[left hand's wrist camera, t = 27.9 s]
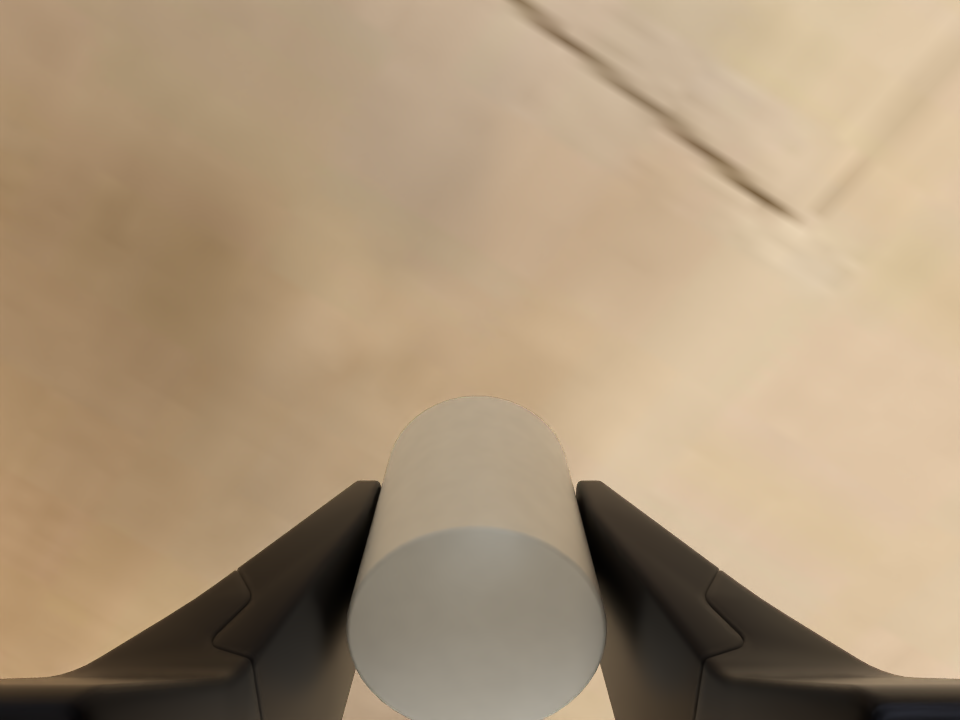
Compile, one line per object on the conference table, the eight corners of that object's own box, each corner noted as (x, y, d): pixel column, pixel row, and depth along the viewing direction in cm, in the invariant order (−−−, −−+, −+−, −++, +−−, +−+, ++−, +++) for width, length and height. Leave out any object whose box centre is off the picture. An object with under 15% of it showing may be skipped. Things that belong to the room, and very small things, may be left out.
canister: (599, 500, 13) (654, 670, 9) (452, 579, 13) (440, 770, 9) (506, 360, 12) (519, 480, 8) (351, 452, 12) (291, 607, 8)
